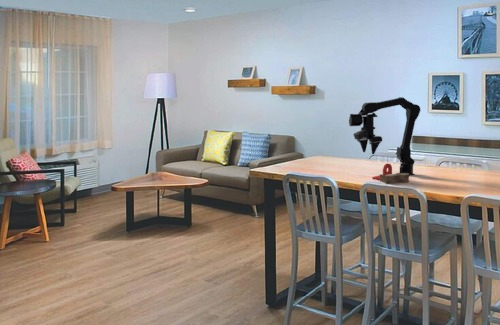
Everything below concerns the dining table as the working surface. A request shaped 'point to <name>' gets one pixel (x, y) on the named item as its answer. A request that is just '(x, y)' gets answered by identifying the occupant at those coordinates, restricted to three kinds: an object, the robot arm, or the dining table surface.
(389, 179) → the cradle
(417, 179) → the dining table surface
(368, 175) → the dining table surface
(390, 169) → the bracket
